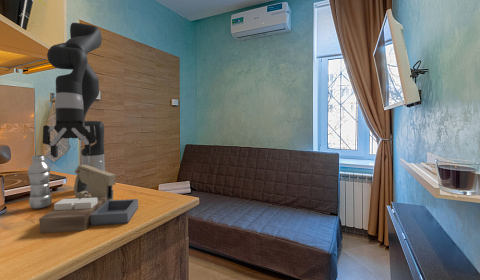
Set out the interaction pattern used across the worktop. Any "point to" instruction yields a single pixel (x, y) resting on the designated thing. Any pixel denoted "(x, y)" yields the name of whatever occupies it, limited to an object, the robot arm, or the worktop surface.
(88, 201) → the tile
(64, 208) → the tile
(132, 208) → the box
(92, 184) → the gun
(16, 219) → the worktop surface
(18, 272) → the worktop surface
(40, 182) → the plastic bottle
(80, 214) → the brown wooden block
